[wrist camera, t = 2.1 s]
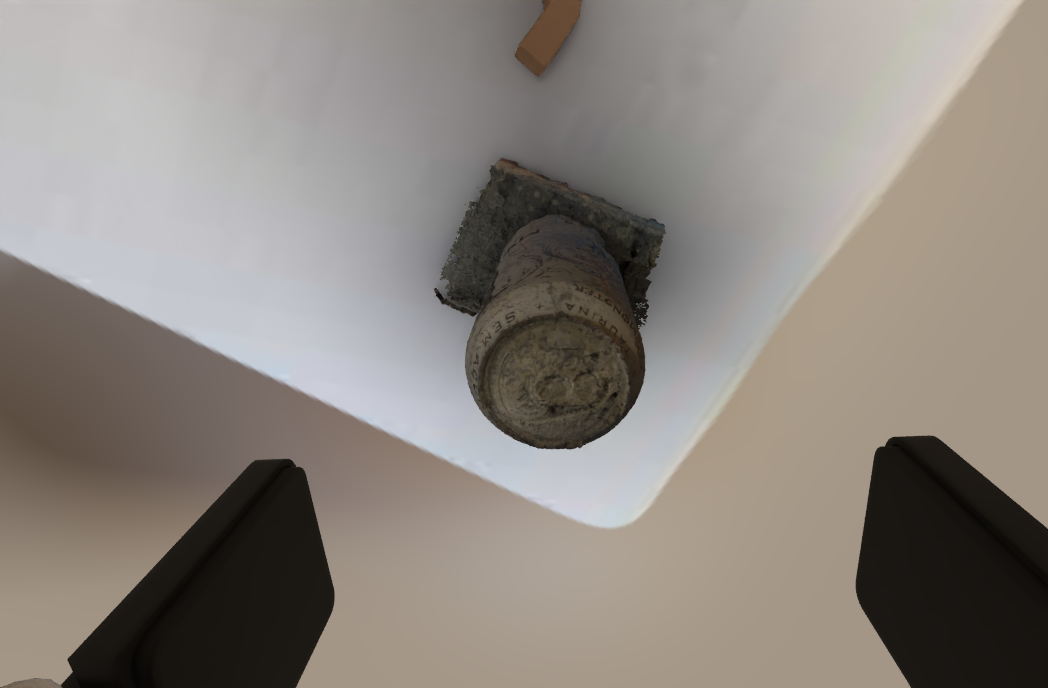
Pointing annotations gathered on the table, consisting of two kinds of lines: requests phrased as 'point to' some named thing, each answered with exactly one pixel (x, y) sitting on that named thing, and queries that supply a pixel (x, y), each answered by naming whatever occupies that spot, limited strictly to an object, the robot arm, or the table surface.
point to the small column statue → (552, 307)
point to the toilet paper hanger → (548, 34)
